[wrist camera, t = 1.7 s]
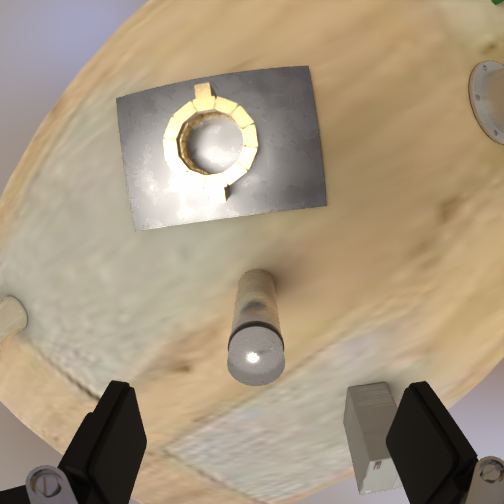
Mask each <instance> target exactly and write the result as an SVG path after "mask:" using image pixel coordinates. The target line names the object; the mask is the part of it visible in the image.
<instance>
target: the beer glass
mask: <svg viewBox="0 0 504 504" xmlns="http://www.w3.org/2000/svg"><path fill="white" fill-rule="evenodd" d="M27 322H28V319H27V314H26V311H25V309H24V307H23V305H22V304H21V303H20V302H19V301H18V300H17V299H16V298H14V297H12V296H7V297H5V298H4V299H3V300H2V301H1V302H0V351H1V349H2V348H3V346H4V345H5V344H6V342H7V341H8V340H9V338H10V337H11V336H12V335H14V334H15V333H17V332H19V331H21V330H23V329H24V328H25V327H26V326H27Z"/></svg>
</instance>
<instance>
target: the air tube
mask: <svg viewBox="0 0 504 504" xmlns="http://www.w3.org/2000/svg"><path fill="white" fill-rule="evenodd" d="M227 366H228V370H229V372H230V374H231V375H232V376H233V377H234V378H235V379H236V380H237V381H239V382H241V383H243V384H246V385H251V386H261V385H266V384H269V383H271V382H273V381H275V380H276V379H277V378H278V377H279V376H280V375H281V374H282V372H283V370H284V367H285V359H284V342H283V338H282V335H281V329H280V322H279V315H278V308H277V301H276V294H275V287H274V282H273V279H272V277H271V276H270V275H269V274H268V273H266V272H264V271H262V270H251V271H248V272H246V273H245V274H243V275H242V276H241V278H240V280H239V282H238V288H237V295H236V302H235V309H234V317H233V324H232V331H231V335H230V338H229V343H228V359H227Z"/></svg>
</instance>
